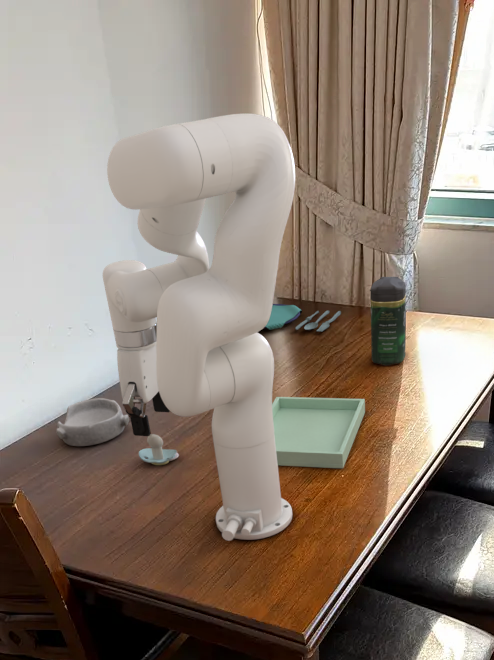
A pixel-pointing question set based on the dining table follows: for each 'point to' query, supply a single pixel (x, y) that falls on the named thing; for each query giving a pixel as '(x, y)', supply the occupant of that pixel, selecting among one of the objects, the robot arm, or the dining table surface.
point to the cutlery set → (295, 317)
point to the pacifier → (157, 452)
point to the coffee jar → (388, 320)
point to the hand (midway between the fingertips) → (152, 423)
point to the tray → (315, 430)
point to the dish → (92, 422)
